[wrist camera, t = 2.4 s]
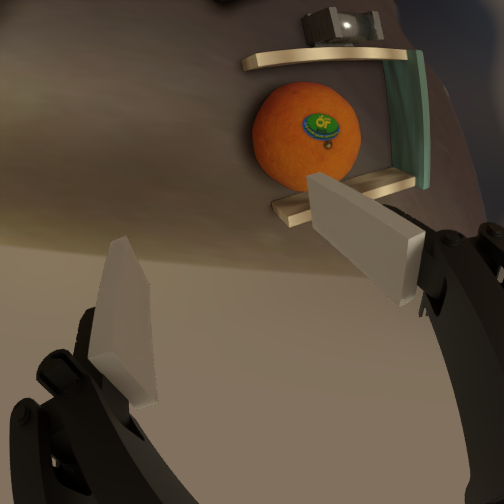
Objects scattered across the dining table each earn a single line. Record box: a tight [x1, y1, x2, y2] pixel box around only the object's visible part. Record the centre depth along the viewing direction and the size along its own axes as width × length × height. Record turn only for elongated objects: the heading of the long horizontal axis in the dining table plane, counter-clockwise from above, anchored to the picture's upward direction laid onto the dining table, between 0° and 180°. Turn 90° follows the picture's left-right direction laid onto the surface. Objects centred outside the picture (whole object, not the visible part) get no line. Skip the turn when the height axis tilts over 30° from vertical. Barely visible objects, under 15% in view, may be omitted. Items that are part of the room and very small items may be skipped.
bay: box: [241, 47, 430, 227], centre depth 27 cm, size 19×17×6 cm
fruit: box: [252, 82, 361, 192], centre depth 26 cm, size 11×10×8 cm
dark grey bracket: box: [301, 7, 384, 48], centre depth 22 cm, size 6×4×6 cm, turn 103°
